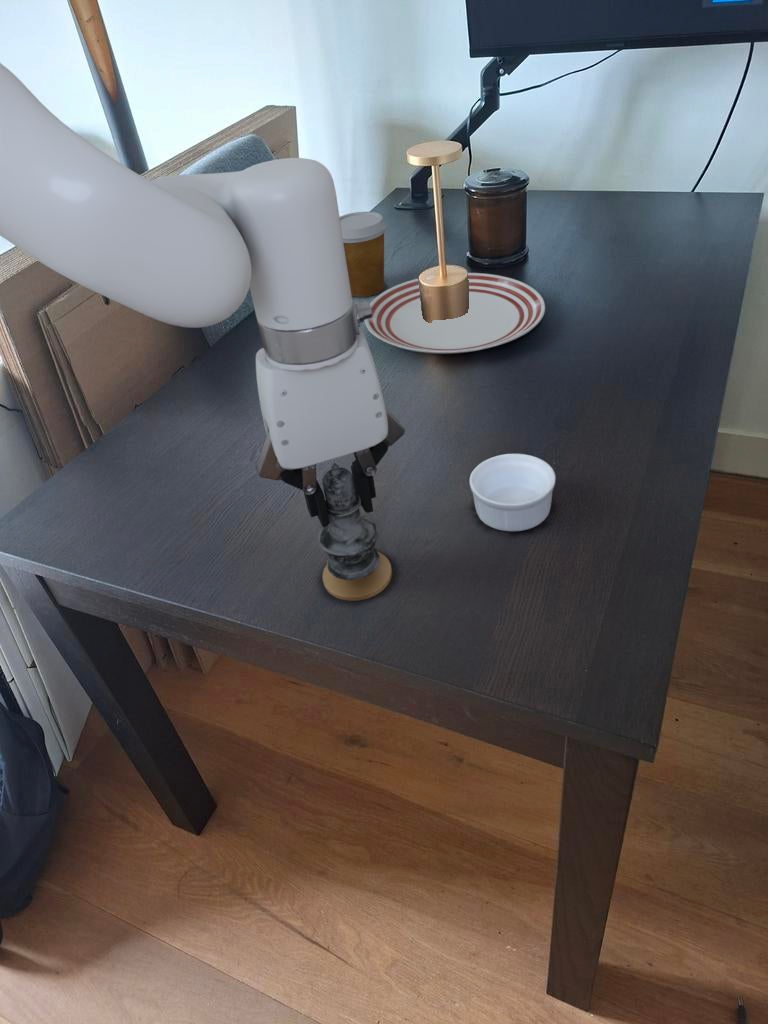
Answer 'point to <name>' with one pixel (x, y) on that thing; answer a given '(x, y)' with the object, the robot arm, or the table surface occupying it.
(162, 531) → the table surface
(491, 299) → the dinner plate
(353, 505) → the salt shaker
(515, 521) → the ramekin
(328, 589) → the coaster
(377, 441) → the robot arm
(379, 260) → the disposable coffee cup
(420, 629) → the table surface
